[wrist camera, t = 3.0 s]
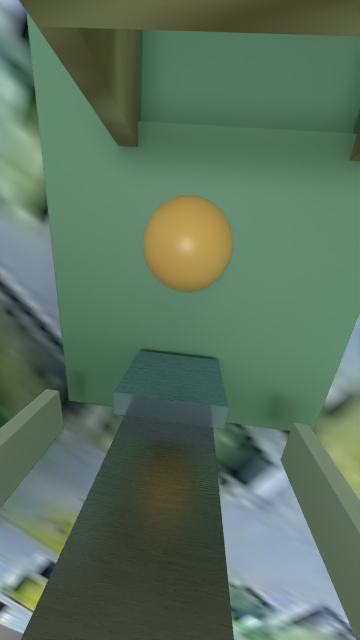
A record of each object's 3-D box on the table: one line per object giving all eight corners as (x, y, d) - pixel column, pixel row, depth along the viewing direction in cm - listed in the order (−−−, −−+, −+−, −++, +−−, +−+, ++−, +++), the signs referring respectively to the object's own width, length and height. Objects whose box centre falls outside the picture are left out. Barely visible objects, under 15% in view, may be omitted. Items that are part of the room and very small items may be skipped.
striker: (138, 413, 14) (12, 748, 4) (140, 349, 12) (-53, 655, 3) (207, 422, 14) (231, 800, 4) (217, 358, 12) (300, 732, 2)
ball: (152, 282, 11) (129, 293, 7) (155, 206, 10) (130, 172, 6) (219, 289, 11) (232, 304, 7) (231, 212, 10) (254, 181, 6)
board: (76, 391, 15) (68, 400, 14) (33, -78, 8) (12, -123, 7) (304, 422, 14) (312, 433, 13) (487, -76, 7) (533, -129, 6)
